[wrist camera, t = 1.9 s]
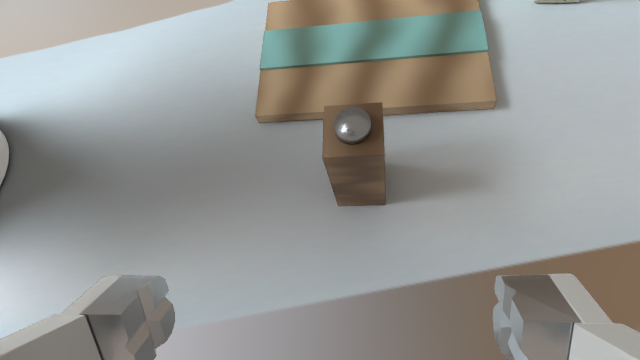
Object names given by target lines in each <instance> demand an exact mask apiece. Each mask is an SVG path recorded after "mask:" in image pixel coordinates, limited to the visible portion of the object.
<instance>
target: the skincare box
mask: <svg viewBox="0 0 640 360" xmlns="http://www.w3.org/2000/svg"><path fill="white" fill-rule="evenodd" d="M579 1H580V0H534V2H535V3H567V2H579Z"/></svg>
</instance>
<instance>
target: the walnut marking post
mask: <svg viewBox="0 0 640 360" xmlns="http://www.w3.org/2000/svg"><path fill="white" fill-rule="evenodd" d="M322 157H323V160H324V164H325V167H326V170H327V173H328V176H329V179H330V182H331V185H332V188H333V191H334V194H335V197H336V201H337V204H338V206H366V205H385V154H384V130H383V106H382V102H379V103H364V104H348V105H333V106H324V124H323V155H322Z"/></svg>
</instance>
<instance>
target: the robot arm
mask: <svg viewBox="0 0 640 360" xmlns="http://www.w3.org/2000/svg"><path fill="white" fill-rule="evenodd" d="M8 161H9V147H8V143H7V140H6V138H5V136H4V134H3V133H2V132H1V131H0V185H1V183H2V181H3V179H4V176H5V173H6V170H7V166H8ZM494 291H495V294H496V296H497V298H498V301H499V302H498V303H497V304H496V305H495V306H494V308H493V326H494V334H495V338H496V342H497V345H498V348H499V351H500V352H501V353H503V354H504V355H505V356H507V360H640V333H639V332H637V331H635V330H633V329H631V328H629V327H628V326H626V325H623V324H615V323H613V322H612V321H611V320H610V319H609V317H608V316H607V315H606V314H605V312H604V311H603V310H602V309H601V308H600V306H599V305H598V304H597V303H596V301H595V300H594V299H593V298H592V296H591V295H590V294H589V293H588V292H587V290H586V289H585V288H584V287H583V285H582V284H581V283H580V282H579V281H578V279H577V278H576V277H575V276H574V275H572V274H570V273H569V274H545V275H505V276H504V275H503V276H497V277H496V280H495V290H494ZM167 292H168V287H167V284H166V281H165V279H164V278H162V277H161V276H141V275H126V276H125V275H109V276H104V277H102V278H101V279H100V280H99V281H98V282H96V283H95V284H94V285H93V286H92V287H91V288H90V289H88V290H87V291H86V292H85V293H84V294H83V295H82V296H80V297H79V298H78V299H77V300H76V301H75V302H74V303H72V304H71V305H70V306H69V307H68V308H67V309H66V310H65V311H63V312H62V313H61V314H60V315H52V316H50V317H48V318H46V319H43V320H41V321H39V322H37V323H35V324H32V325H30V326H28V327H26V328H24V329H22V330H19V331H17V332H15V333H13V334H11V335H8V336H6V337H4V338H2V339H0V360H154V359H155V357H156V348H157V347H158V346H160V345H162V344H163V343H165V342H166V341H167V339H168V338H169V336H170V335H171V333H172V330H173V326H174V323H175V312H174V308H173V304H172V303H171V302H170V301H169V300H168V299H167V298H166V297H165V296H166V294H167Z"/></svg>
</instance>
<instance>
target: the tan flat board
mask: <svg viewBox="0 0 640 360" xmlns="http://www.w3.org/2000/svg"><path fill="white" fill-rule="evenodd" d="M488 50H489V49H488V44H487V38H486V33H485V28H484V22H483V17H482V12H481V10H480V7H479V2H478V0H289V1H279V2H270V3H268V11H267V20H266V29H265V31H264V37H263V45H262V54H261V62H260V70H261V71H260V80H259V89H258V97H257V106H256V114H255V116H256V118H257V120H258V122H259V123H262V122H279V121H295V120H312V119H324V106H333V105H348V104H364V103H379V102H382V106H383V115H395V114H411V113H428V112H445V111H461V110H478V109H494V106H495V104H496V102H497V98H496V93H495V88H494V82H493V77H492V71H491V66H490V61H489V55H488Z"/></svg>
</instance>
